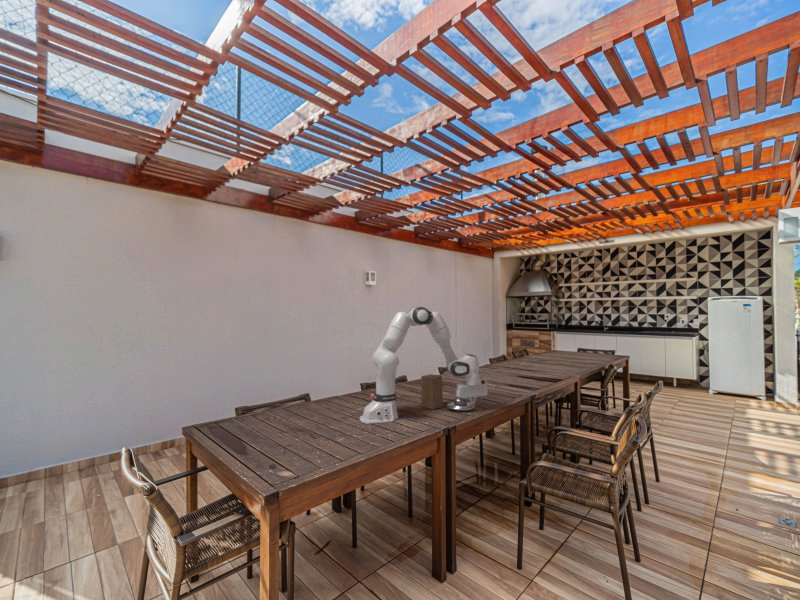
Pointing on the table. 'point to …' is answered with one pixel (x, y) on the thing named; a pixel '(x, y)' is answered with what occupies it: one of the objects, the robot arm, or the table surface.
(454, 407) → the turntable
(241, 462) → the table surface
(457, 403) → the cast cover
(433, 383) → the wooden block
